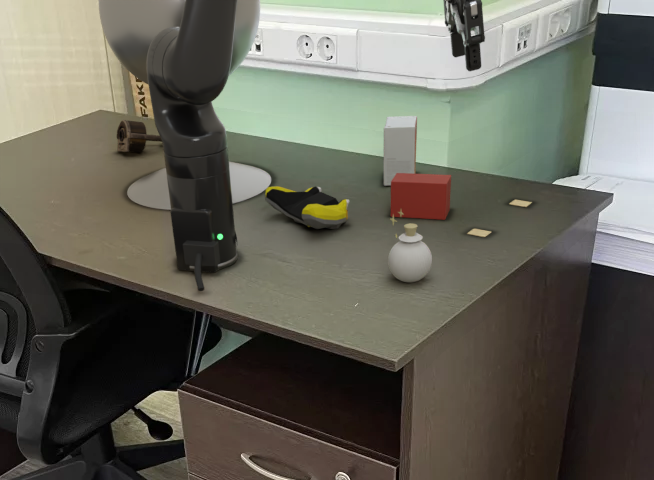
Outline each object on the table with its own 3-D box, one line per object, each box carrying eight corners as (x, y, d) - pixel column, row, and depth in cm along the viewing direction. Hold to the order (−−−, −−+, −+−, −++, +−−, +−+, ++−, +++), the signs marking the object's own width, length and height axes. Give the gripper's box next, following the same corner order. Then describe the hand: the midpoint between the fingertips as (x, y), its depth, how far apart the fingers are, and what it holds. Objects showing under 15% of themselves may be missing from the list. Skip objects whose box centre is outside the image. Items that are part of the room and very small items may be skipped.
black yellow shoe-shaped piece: (310, 243, 136) (361, 227, 140) (308, 209, 133) (361, 194, 137) (261, 217, 147) (309, 204, 151) (258, 186, 144) (308, 173, 148)
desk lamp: (223, 154, 181) (200, -92, 157) (300, 184, 161) (287, -93, 137) (103, 185, 169) (59, -76, 145) (170, 221, 149) (132, -75, 125)
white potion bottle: (408, 293, 118) (409, 223, 113) (372, 276, 123) (372, 209, 118) (440, 280, 121) (443, 212, 115) (404, 265, 126) (405, 198, 121)
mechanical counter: (112, 122, 189) (108, 123, 180) (169, 110, 189) (168, 110, 180) (120, 155, 191) (116, 158, 182) (176, 144, 192) (175, 146, 182)
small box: (414, 186, 155) (415, 127, 149) (382, 186, 156) (383, 127, 151) (416, 172, 162) (417, 115, 156) (386, 172, 163) (386, 115, 157)
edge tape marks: (484, 237, 133) (484, 236, 133) (466, 233, 134) (466, 233, 134) (532, 202, 144) (532, 202, 144) (515, 200, 145) (515, 199, 145)
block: (445, 219, 140) (446, 183, 137) (390, 216, 143) (390, 181, 140) (449, 210, 144) (451, 174, 140) (396, 207, 147) (396, 172, 143)
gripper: (422, -49, 134) (432, 57, 143) (444, -35, 122) (454, 80, 131) (470, -62, 133) (477, 46, 142) (497, -48, 121) (503, 68, 131)
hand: (466, 62), depth 137 cm, fingers open, 8 cm apart
